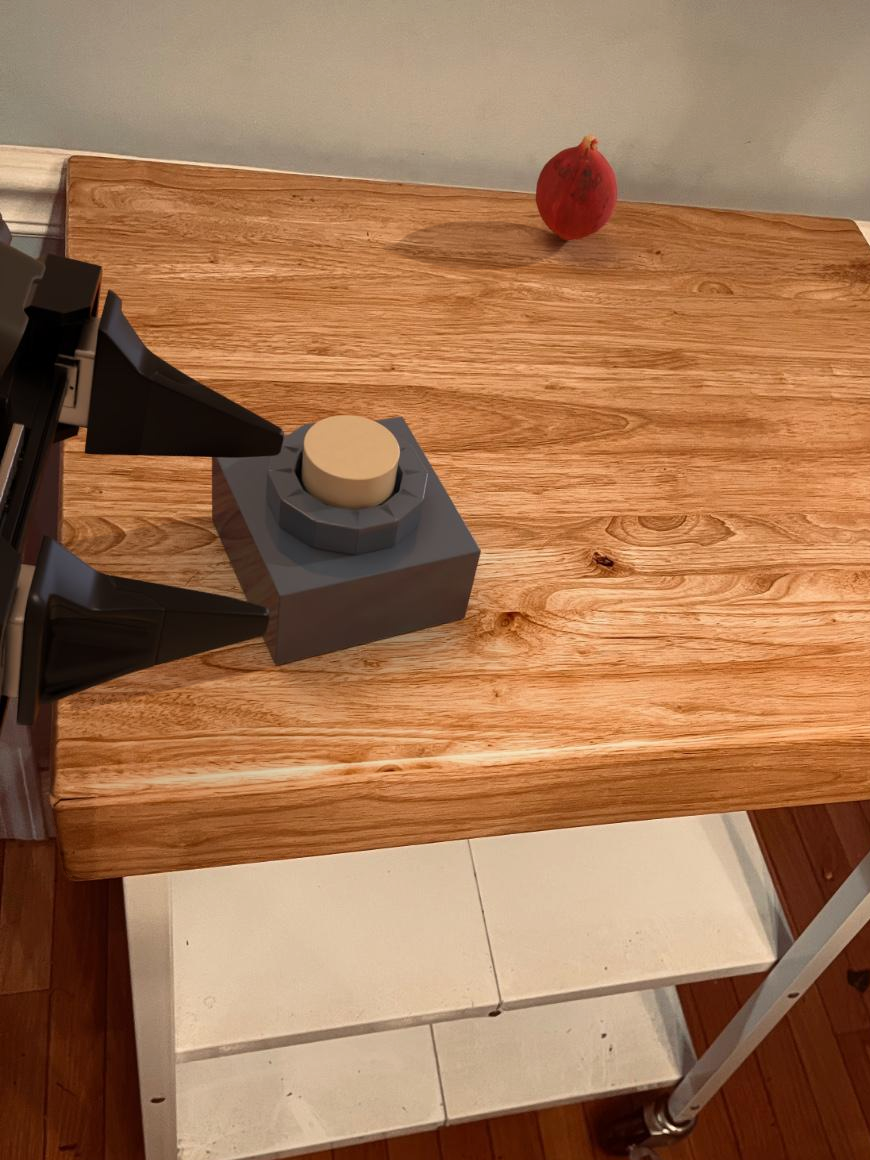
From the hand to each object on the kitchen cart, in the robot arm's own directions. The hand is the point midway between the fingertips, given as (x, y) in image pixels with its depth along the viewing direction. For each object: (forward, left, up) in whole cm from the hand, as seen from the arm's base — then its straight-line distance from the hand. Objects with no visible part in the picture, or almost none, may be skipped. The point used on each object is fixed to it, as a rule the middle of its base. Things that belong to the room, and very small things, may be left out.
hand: (275, 526), depth 43 cm
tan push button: (+2, +12, -8) cm, 14 cm away
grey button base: (+2, +12, -15) cm, 19 cm away
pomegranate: (+15, +47, -15) cm, 51 cm away
